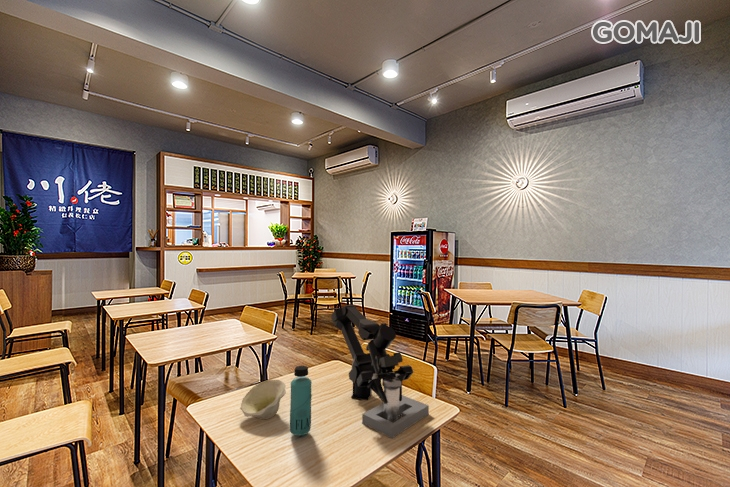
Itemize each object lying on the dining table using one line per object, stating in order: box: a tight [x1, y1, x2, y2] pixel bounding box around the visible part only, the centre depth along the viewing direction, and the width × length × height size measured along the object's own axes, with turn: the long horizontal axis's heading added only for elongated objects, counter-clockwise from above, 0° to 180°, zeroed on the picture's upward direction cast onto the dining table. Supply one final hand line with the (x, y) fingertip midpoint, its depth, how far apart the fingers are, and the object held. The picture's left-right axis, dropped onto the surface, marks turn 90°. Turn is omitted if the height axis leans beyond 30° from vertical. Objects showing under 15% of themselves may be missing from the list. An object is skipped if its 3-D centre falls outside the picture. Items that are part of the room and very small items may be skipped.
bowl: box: [239, 379, 287, 420], centre depth 109 cm, size 15×14×10 cm
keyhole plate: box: [361, 394, 430, 439], centre depth 109 cm, size 20×12×3 cm, turn 137°
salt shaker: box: [381, 376, 401, 423], centre depth 105 cm, size 6×6×13 cm
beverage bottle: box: [289, 365, 313, 436], centre depth 99 cm, size 6×7×20 cm
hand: (393, 402), depth 104 cm, fingers closed on salt shaker, 5 cm apart
